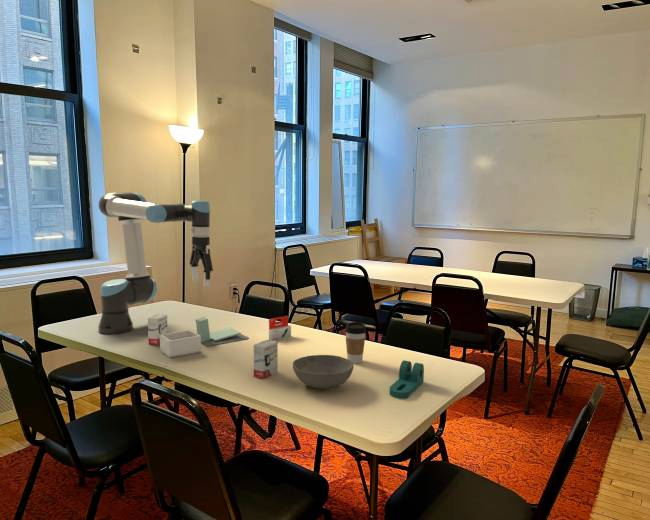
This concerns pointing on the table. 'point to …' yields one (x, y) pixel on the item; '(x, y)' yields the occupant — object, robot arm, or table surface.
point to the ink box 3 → (279, 328)
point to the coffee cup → (355, 341)
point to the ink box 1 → (156, 328)
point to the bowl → (323, 370)
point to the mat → (225, 340)
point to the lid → (216, 335)
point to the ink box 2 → (265, 358)
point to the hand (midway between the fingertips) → (200, 283)
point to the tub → (180, 343)
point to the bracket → (407, 380)
